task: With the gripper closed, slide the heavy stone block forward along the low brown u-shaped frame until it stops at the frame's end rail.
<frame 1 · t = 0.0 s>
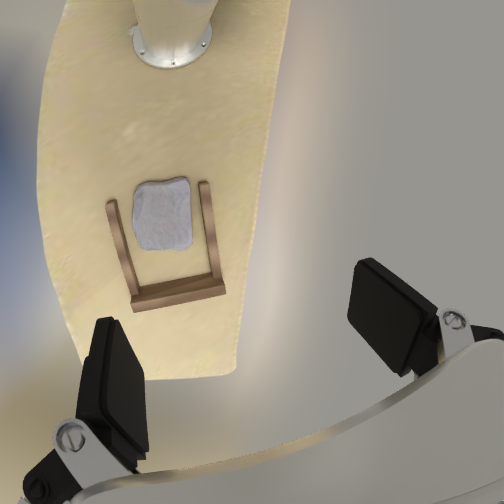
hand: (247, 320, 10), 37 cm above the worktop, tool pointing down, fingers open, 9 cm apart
brown u-shaped frame: (165, 238, 45), on the worktop
stone block: (161, 212, 44), on the worktop
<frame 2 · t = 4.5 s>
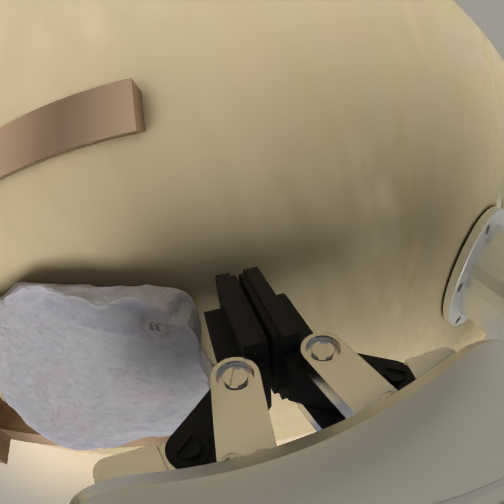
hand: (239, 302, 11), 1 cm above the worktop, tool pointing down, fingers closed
brown u-shaped frame: (26, 325, 9), on the worktop
stone block: (96, 342, 12), on the worktop
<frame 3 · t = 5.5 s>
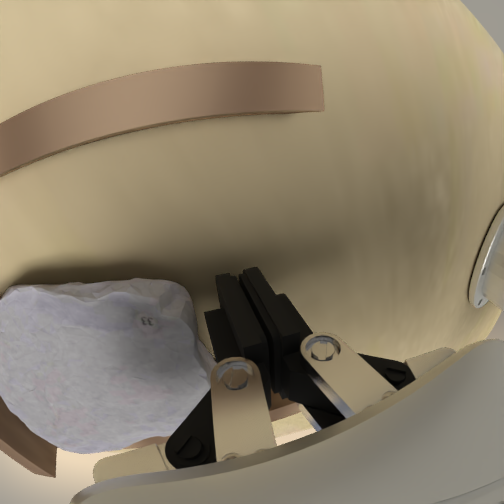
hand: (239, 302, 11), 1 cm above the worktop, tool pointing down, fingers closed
brown u-shaped frame: (111, 312, 10), on the worktop
stone block: (95, 342, 11), on the worktop, touching gripper
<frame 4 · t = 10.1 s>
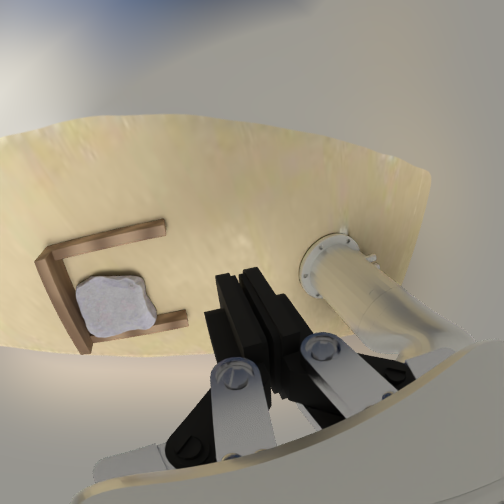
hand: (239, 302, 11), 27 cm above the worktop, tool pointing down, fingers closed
brown u-shaped frame: (122, 283, 37), on the worktop
stone block: (115, 295, 38), on the worktop
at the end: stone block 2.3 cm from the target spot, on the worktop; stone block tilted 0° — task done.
